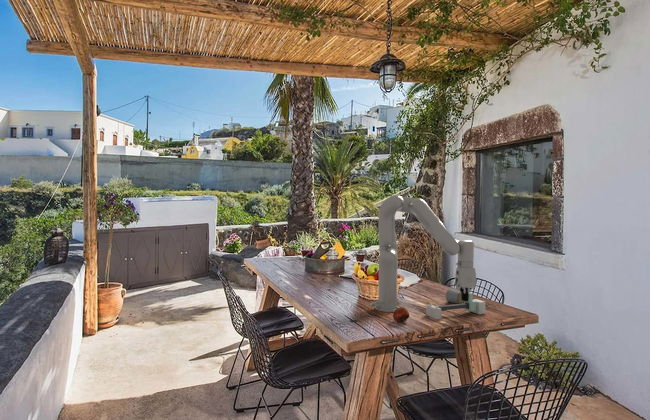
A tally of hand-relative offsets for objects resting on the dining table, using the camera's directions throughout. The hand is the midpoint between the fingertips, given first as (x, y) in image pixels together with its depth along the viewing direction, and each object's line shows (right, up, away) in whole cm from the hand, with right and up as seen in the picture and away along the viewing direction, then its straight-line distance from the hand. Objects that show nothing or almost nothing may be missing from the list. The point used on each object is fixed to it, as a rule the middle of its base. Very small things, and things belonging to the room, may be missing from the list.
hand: (464, 300), depth 197 cm
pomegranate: (-35, -7, -16) cm, 39 cm away
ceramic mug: (+3, -7, +22) cm, 23 cm away
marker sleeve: (+3, -5, +1) cm, 6 cm away
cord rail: (-4, -7, -1) cm, 8 cm away
